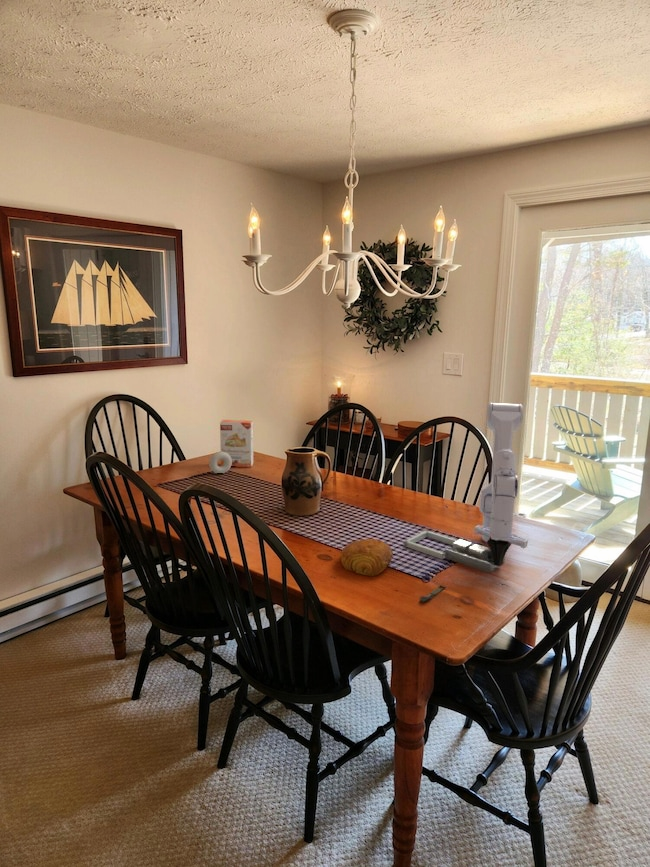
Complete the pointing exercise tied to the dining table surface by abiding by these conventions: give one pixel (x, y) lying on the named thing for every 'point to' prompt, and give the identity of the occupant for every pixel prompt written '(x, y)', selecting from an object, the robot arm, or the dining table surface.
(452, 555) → the rail
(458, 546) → the beige cube
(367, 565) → the croissant
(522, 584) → the dining table surface
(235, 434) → the cracker box
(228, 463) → the donut
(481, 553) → the cream cube
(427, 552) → the tray
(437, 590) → the tactical tomahawk
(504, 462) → the robot arm
